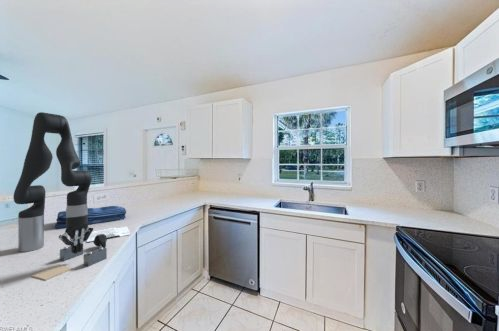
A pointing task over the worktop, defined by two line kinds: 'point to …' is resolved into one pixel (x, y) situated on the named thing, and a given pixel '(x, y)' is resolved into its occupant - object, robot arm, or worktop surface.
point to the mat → (52, 272)
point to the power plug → (100, 240)
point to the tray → (109, 233)
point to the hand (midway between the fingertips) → (76, 252)
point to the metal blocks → (88, 258)
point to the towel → (95, 215)
